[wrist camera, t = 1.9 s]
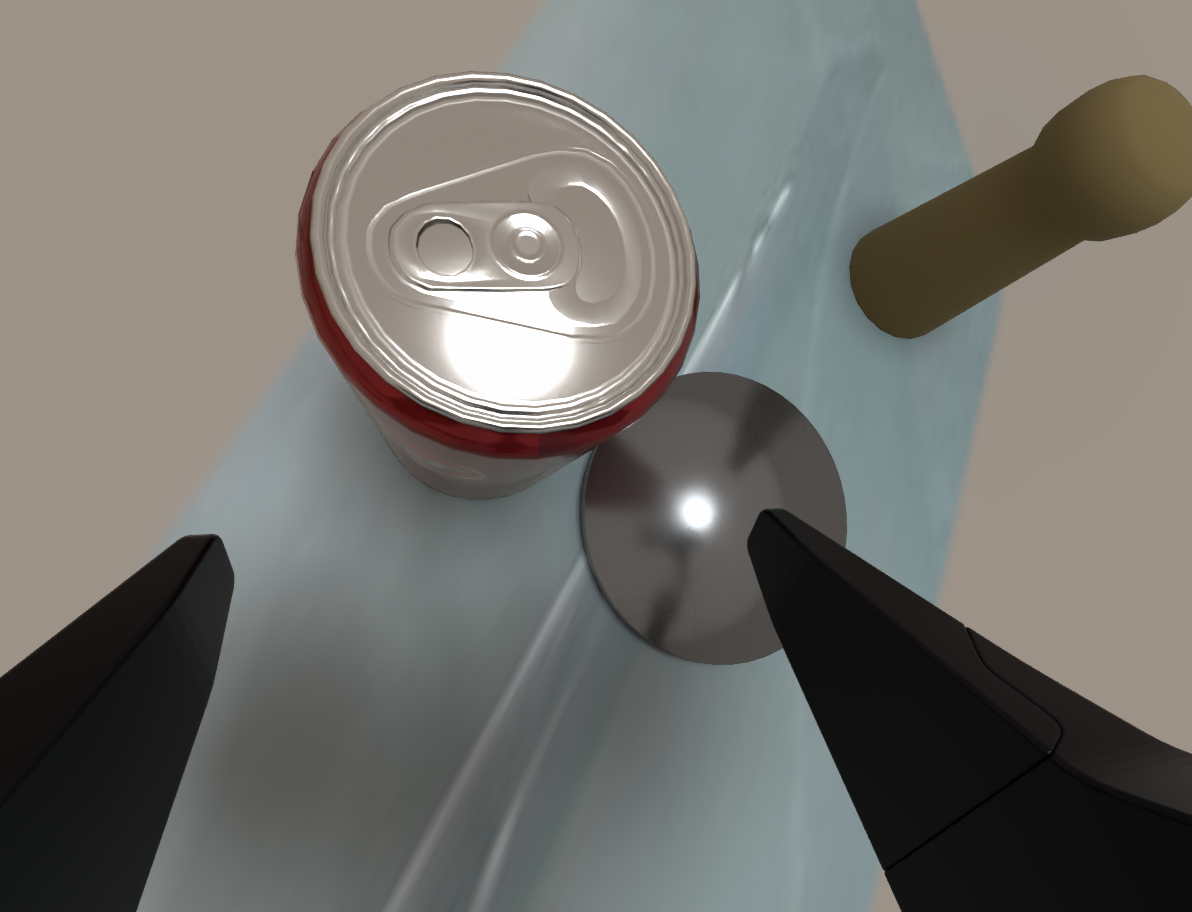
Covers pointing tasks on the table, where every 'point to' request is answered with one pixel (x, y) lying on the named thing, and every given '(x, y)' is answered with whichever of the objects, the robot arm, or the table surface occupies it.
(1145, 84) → the cork
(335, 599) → the table surface
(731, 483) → the flange plate
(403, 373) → the soda can
